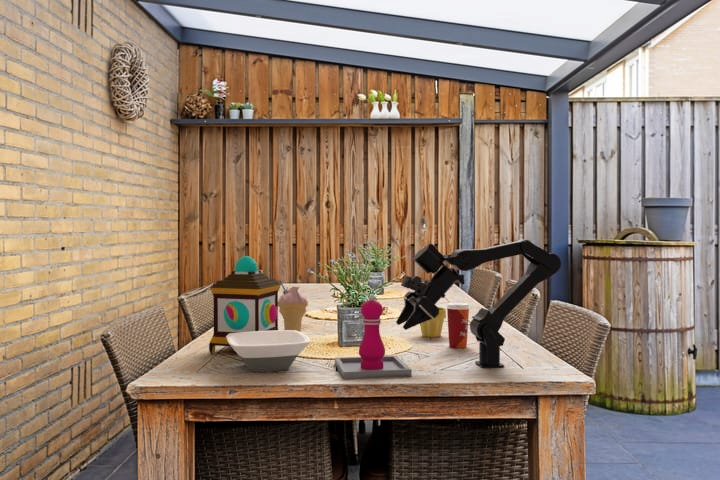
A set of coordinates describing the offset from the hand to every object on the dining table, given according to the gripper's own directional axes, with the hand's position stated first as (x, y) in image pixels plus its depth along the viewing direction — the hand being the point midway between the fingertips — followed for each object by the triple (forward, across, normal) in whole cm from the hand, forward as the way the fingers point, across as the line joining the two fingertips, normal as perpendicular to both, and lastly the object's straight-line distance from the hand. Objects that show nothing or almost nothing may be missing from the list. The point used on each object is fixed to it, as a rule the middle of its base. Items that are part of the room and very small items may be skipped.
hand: (400, 326), depth 175 cm
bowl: (+34, -7, -18) cm, 39 cm away
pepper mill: (+14, 0, +2) cm, 14 cm away
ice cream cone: (+27, -55, -12) cm, 63 cm away
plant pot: (-7, -49, +23) cm, 55 cm away
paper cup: (-9, -28, +26) cm, 40 cm away
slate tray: (+14, 0, +2) cm, 14 cm away
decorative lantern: (+38, -32, -23) cm, 55 cm away
